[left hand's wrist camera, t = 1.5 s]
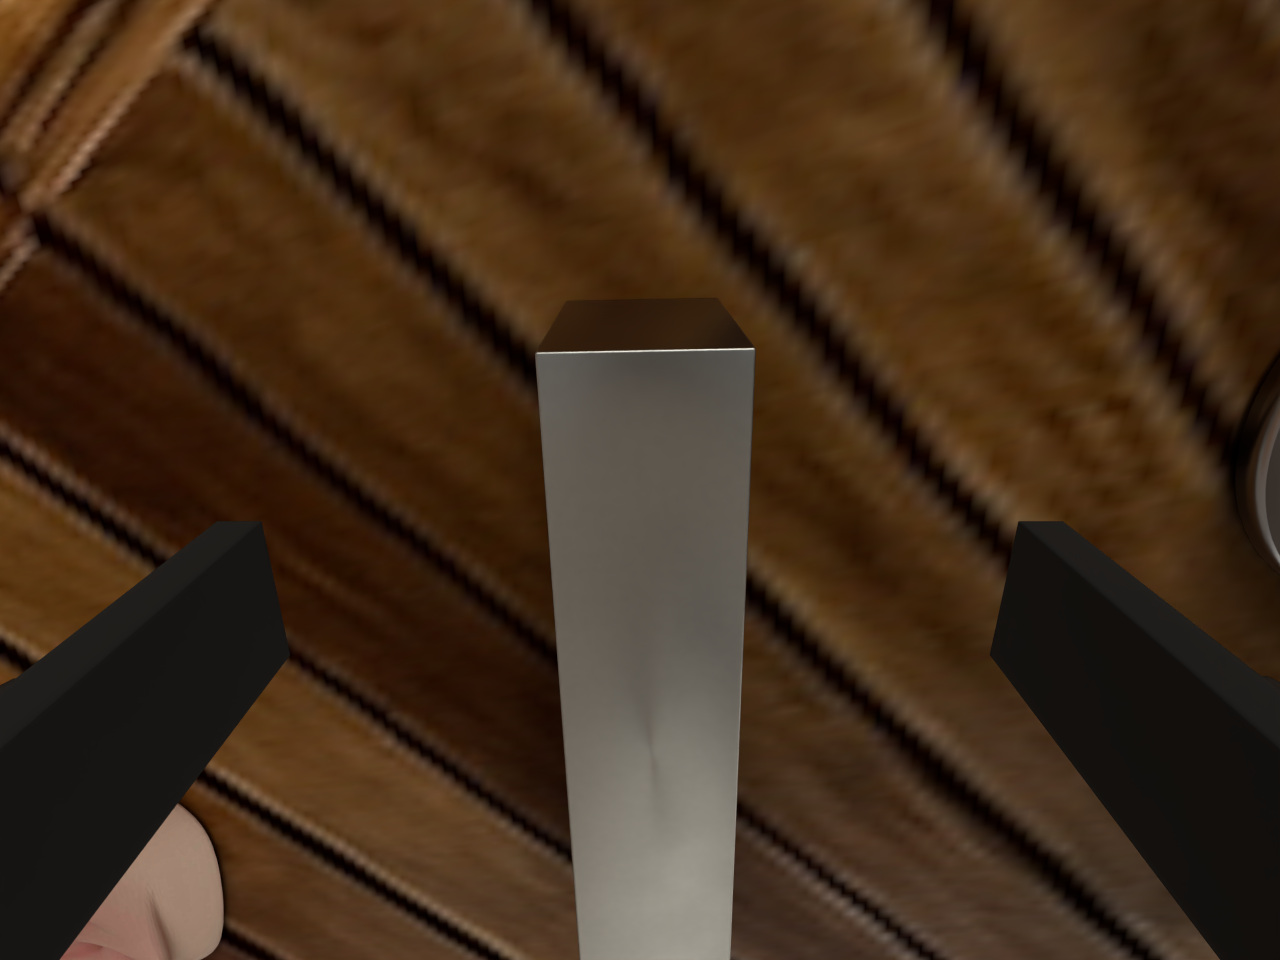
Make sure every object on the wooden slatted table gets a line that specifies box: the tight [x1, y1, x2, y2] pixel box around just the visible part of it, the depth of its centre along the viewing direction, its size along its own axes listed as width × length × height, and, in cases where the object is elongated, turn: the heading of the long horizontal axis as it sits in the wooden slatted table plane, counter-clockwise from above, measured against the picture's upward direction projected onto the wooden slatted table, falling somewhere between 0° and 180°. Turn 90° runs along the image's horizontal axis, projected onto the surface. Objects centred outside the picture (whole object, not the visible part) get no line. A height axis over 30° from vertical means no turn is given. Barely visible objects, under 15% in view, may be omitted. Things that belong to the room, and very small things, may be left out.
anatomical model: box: [60, 804, 224, 960], centre depth 33 cm, size 13×4×12 cm
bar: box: [535, 298, 756, 960], centre depth 26 cm, size 25×5×9 cm, turn 1°
